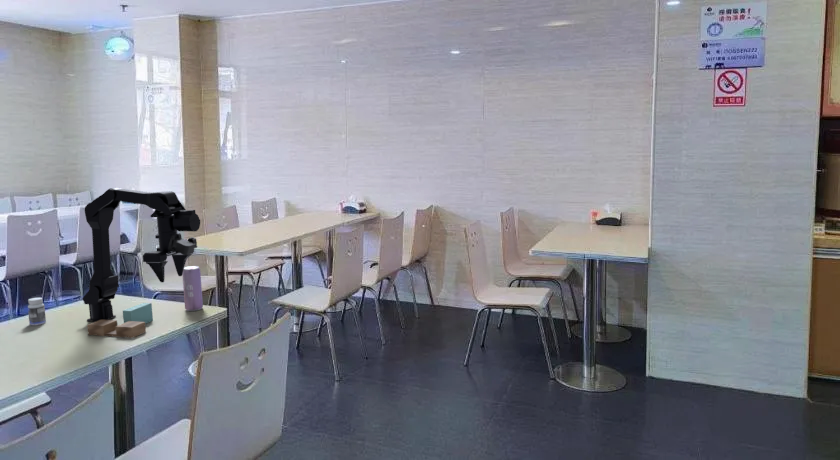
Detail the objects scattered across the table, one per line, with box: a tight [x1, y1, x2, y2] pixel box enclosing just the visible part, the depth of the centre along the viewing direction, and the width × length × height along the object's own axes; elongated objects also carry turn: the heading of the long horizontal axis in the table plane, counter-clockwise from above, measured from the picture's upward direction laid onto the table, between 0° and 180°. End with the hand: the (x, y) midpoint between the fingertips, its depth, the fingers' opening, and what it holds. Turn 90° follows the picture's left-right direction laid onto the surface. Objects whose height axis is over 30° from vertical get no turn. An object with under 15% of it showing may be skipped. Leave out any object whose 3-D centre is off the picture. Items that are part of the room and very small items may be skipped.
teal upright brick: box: [122, 302, 154, 325], centre depth 205 cm, size 3×10×6 cm, turn 166°
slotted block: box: [86, 319, 146, 339], centre depth 196 cm, size 16×6×3 cm, turn 76°
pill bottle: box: [27, 297, 47, 326], centre depth 209 cm, size 5×5×8 cm
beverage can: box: [181, 265, 204, 312], centre depth 222 cm, size 6×6×15 cm
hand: (171, 279), depth 204 cm, fingers open, 9 cm apart
